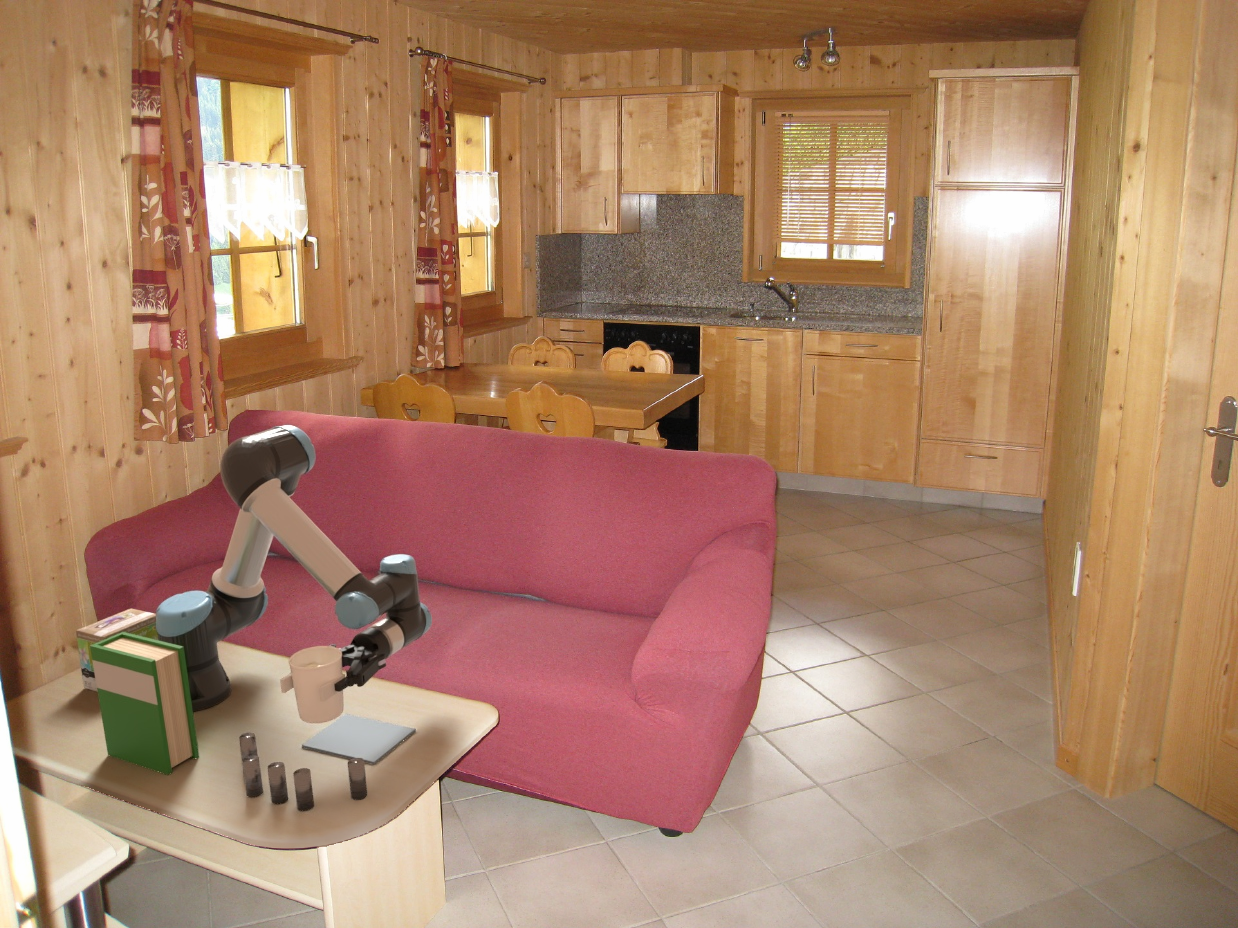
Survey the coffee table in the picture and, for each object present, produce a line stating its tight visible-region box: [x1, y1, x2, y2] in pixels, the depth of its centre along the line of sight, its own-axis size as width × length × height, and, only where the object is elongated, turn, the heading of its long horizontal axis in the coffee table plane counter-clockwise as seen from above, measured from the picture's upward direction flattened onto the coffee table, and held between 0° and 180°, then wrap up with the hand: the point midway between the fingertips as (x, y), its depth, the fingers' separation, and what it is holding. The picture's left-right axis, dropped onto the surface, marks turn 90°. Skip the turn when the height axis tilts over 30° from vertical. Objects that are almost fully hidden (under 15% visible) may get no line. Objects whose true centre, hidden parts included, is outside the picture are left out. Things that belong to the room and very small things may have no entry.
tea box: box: [75, 608, 159, 693], centre depth 235 cm, size 15×10×15 cm, turn 155°
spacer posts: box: [238, 731, 368, 812], centre depth 188 cm, size 29×10×7 cm, turn 66°
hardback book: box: [90, 632, 200, 776], centre depth 199 cm, size 18×7×24 cm, turn 63°
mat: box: [301, 713, 417, 765], centre depth 207 cm, size 18×14×1 cm
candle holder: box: [288, 645, 345, 724], centre depth 193 cm, size 10×10×12 cm
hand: (301, 690), depth 189 cm, fingers closed on candle holder, 9 cm apart
